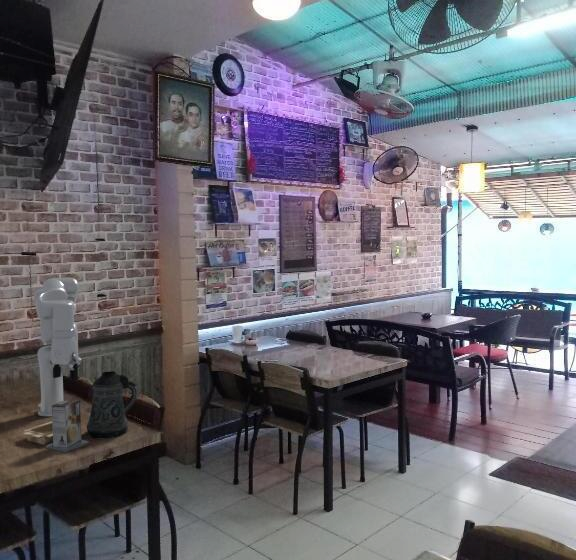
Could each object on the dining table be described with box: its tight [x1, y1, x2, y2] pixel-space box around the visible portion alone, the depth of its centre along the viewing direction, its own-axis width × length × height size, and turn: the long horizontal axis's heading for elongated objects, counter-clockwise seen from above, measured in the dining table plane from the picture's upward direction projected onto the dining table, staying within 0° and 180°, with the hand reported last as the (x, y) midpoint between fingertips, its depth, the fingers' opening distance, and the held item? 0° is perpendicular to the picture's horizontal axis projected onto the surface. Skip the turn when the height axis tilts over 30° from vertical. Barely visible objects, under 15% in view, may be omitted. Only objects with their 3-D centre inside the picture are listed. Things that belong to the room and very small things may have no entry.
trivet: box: [45, 439, 90, 453], centre depth 216 cm, size 11×11×1 cm
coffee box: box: [51, 398, 82, 448], centre depth 216 cm, size 9×6×16 cm
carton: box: [22, 421, 53, 446], centre depth 226 cm, size 16×19×4 cm
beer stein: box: [86, 371, 138, 439], centre depth 232 cm, size 16×19×25 cm
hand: (65, 378), depth 215 cm, fingers open, 9 cm apart
